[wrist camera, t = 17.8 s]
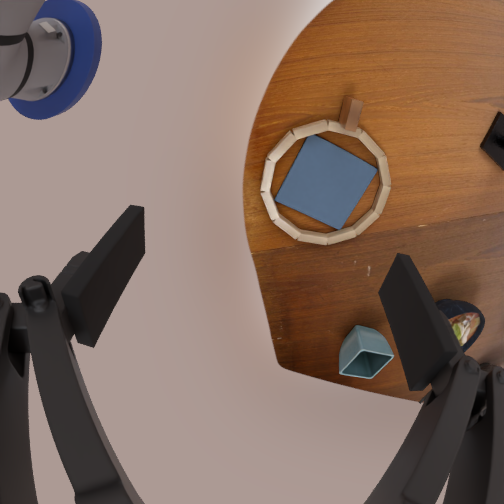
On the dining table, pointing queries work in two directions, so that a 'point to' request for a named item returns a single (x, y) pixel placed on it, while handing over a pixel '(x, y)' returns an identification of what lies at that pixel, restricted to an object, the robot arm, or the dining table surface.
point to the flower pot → (364, 353)
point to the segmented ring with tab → (343, 126)
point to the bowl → (463, 320)
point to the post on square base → (495, 141)
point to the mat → (325, 182)
